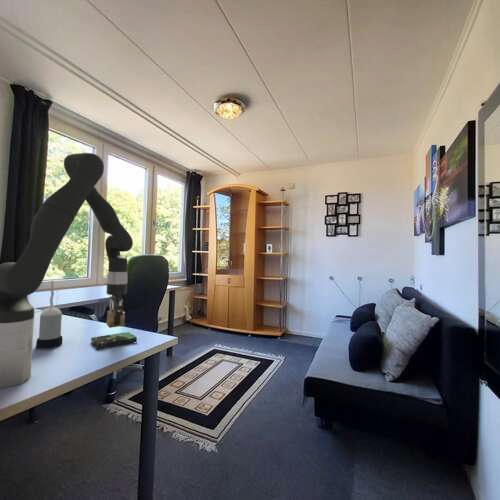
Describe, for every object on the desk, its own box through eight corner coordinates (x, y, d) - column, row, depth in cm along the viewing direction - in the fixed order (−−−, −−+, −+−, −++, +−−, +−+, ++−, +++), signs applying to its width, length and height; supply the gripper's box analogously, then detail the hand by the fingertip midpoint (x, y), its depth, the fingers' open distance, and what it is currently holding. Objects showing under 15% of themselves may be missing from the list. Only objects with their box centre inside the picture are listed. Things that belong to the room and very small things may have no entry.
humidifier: (40, 342, 105) (44, 279, 105) (65, 341, 108) (68, 279, 108) (32, 350, 97) (36, 282, 98) (58, 348, 100) (62, 282, 101)
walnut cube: (124, 325, 109) (125, 312, 109) (109, 327, 105) (110, 313, 105) (120, 322, 113) (121, 309, 113) (106, 324, 109) (107, 311, 110)
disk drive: (97, 352, 100) (137, 343, 110) (97, 344, 100) (137, 336, 110) (90, 344, 107) (128, 337, 117) (90, 337, 107) (128, 330, 117)
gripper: (131, 284, 106) (129, 326, 106) (122, 280, 117) (120, 318, 117) (111, 284, 101) (109, 329, 101) (103, 281, 113) (101, 320, 112)
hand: (115, 323), depth 109 cm, fingers closed on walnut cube, 5 cm apart
